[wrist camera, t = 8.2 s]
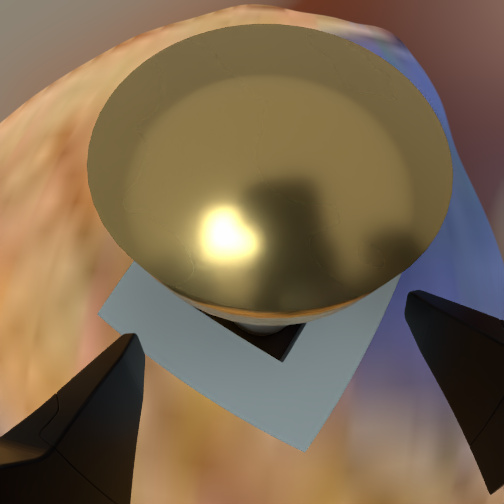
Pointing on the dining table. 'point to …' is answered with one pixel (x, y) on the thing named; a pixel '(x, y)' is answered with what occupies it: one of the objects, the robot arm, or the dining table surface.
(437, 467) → the dining table surface
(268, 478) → the dining table surface
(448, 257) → the dining table surface
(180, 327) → the socket block
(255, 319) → the pin
